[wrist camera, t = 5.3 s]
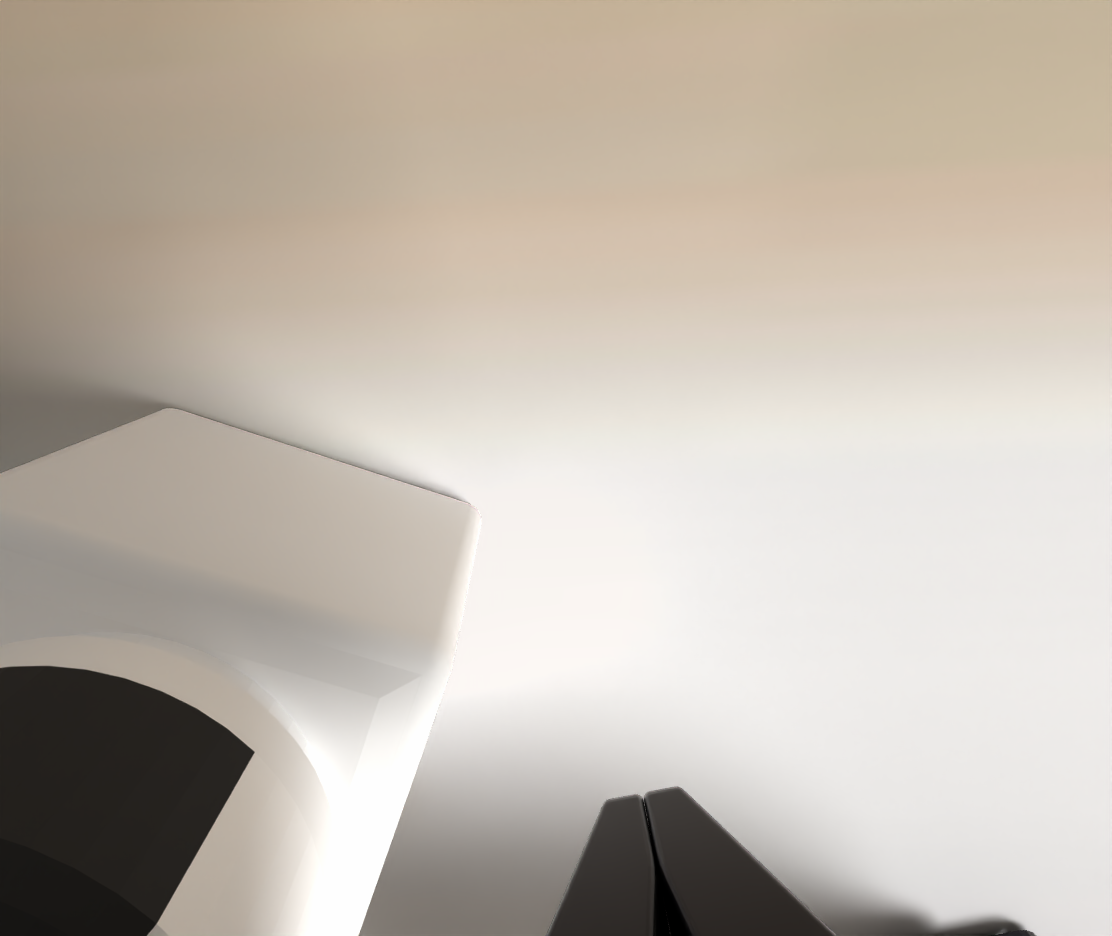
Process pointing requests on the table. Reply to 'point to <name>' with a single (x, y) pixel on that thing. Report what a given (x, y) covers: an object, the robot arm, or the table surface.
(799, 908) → the robot arm
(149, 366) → the table surface
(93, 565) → the medicine bottle
